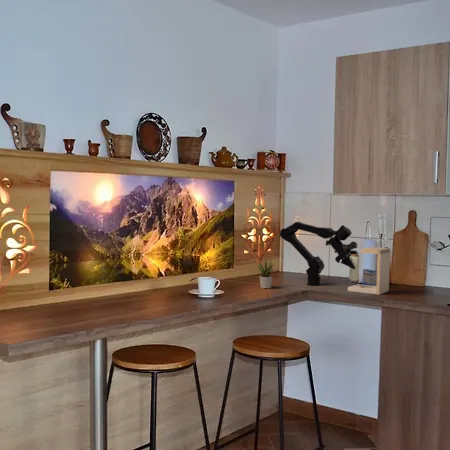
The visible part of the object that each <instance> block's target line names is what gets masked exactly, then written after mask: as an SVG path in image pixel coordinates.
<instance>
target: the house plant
mask: <svg viewBox="0 0 450 450" xmlns="http://www.w3.org/2000/svg"><path fill="white" fill-rule="evenodd" d="M261 259H262V258H261ZM262 261H263V263H264V266H263V265H262V263H261V262H260V261H259V260H256V263H257V268H256V270H257V271H259V273H260V274H261V275H259V282H260V288H261V289H263V288H270V289H271V288H272V281H273V278H274V276H272V275H271V274H272V273H273V274H274V273H275V274H276V272H275V271H277V270H276V269H275V270H273V269H274V265H276V264H278V261H277V262H274V261H275V259H273V260H270V262H269V264H268V263H267V260H264V259H262ZM272 270H273V271H272Z"/></svg>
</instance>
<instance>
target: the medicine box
mask: <svg viewBox="0 0 450 450" xmlns="http://www.w3.org/2000/svg"><path fill="white" fill-rule="evenodd" d="M361 283H362V284H361V285H370V286H377V269H376V270H375V269H369V268H364V269H362V281H361Z"/></svg>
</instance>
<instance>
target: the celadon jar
mask: <svg viewBox="0 0 450 450" xmlns="http://www.w3.org/2000/svg"><path fill="white" fill-rule="evenodd" d="M350 260H351V262H352V263H353V265H354V266H355V269H352V268H350V267H349V272H348V276H349V278H348V279H349V281H353V282H354V281H355V282H356V281H359V279H360V278H359V277H360V254H359V253H358V254H351V256H350Z"/></svg>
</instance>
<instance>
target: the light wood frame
mask: <svg viewBox="0 0 450 450" xmlns="http://www.w3.org/2000/svg"><path fill="white" fill-rule="evenodd" d="M360 253H361V254H370V255H371V254H372V255H377V264H376V265H377V267H376V271H377V286H370V285H363V284H359V283H357V284H354V285H350V286H347V292H355V293H362V294H370V295H371V294H373V295H378V296H379V295H382V294H385V293H387V292H389V289H390V267H391V266H390V265H391V247H379V246H378V247H376V246H370V247H369V246H368V247H365V248H361V249H360Z"/></svg>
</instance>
